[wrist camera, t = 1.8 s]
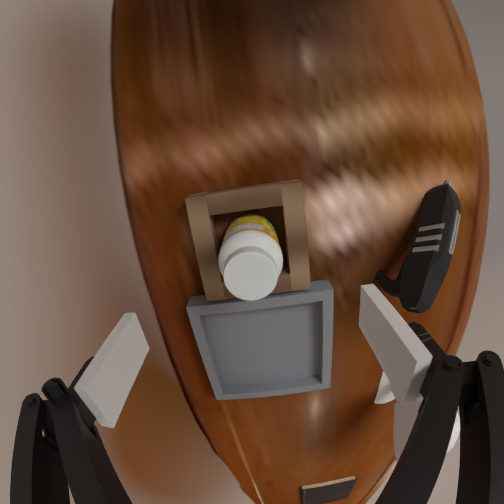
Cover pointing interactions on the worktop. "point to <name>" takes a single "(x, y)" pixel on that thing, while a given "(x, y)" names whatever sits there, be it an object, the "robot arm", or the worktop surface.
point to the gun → (427, 251)
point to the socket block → (250, 198)
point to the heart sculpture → (406, 416)
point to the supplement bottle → (250, 257)
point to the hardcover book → (327, 491)
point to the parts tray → (266, 342)
